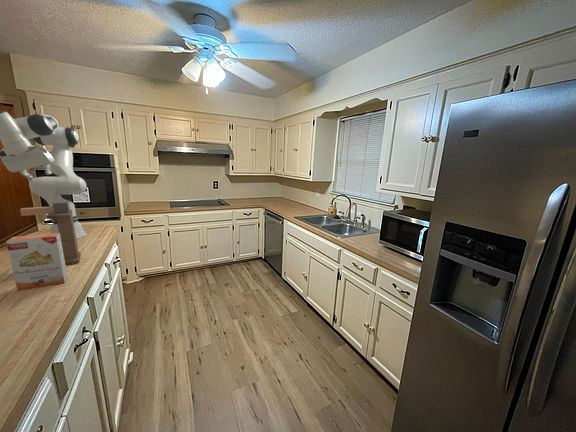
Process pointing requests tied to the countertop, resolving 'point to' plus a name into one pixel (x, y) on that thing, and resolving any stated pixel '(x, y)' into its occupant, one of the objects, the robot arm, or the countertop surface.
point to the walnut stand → (67, 237)
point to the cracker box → (37, 260)
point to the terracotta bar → (47, 209)
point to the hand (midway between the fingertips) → (40, 176)
